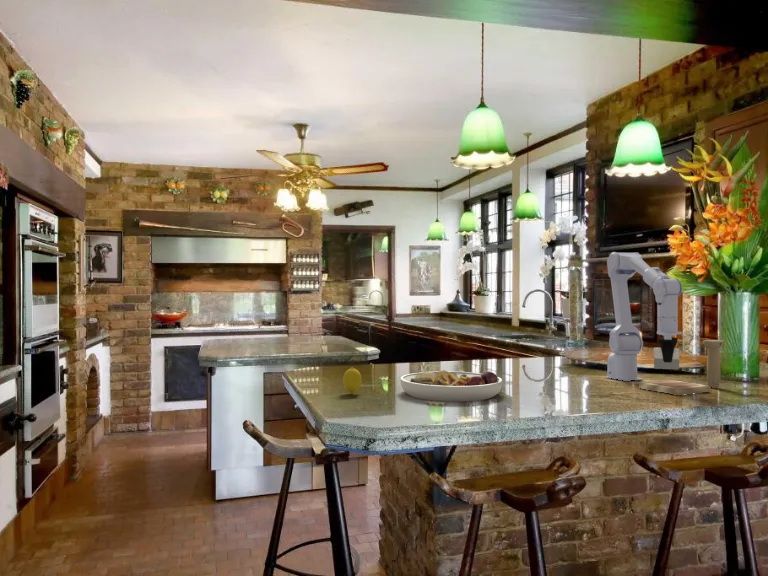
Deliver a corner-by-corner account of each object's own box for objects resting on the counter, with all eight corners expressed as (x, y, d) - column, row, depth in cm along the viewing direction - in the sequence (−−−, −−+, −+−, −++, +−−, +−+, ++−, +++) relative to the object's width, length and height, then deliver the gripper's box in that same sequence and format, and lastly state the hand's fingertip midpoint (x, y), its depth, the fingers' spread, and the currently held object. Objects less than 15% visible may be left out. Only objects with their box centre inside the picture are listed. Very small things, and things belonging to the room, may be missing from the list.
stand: (638, 388, 191) (638, 381, 191) (669, 385, 197) (669, 378, 197) (677, 395, 179) (677, 388, 179) (709, 392, 185) (709, 385, 185)
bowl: (382, 398, 175) (382, 371, 175) (425, 384, 202) (425, 360, 202) (482, 408, 161) (482, 378, 161) (514, 391, 188) (514, 366, 188)
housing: (679, 369, 185) (679, 349, 185) (654, 368, 188) (654, 348, 188) (678, 367, 189) (678, 348, 189) (654, 366, 192) (654, 347, 192)
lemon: (359, 396, 177) (359, 368, 177) (340, 395, 178) (340, 368, 178) (363, 393, 183) (363, 366, 183) (345, 392, 184) (345, 365, 184)
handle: (727, 388, 192) (727, 340, 192) (713, 389, 190) (713, 341, 190) (713, 386, 197) (713, 339, 197) (699, 387, 194) (699, 340, 194)
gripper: (682, 318, 180) (682, 364, 180) (680, 316, 194) (680, 359, 194) (656, 318, 183) (656, 363, 183) (656, 316, 197) (656, 358, 197)
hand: (667, 361), depth 189 cm, fingers closed on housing, 4 cm apart
